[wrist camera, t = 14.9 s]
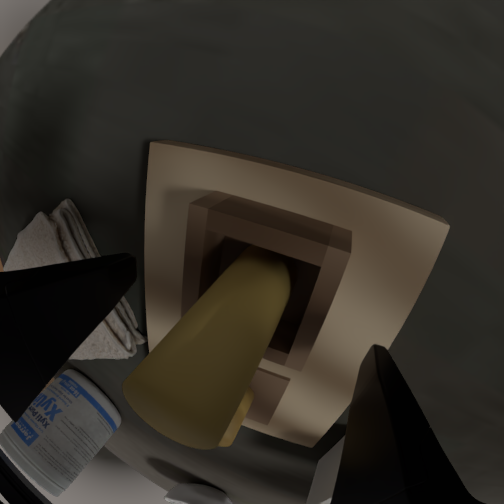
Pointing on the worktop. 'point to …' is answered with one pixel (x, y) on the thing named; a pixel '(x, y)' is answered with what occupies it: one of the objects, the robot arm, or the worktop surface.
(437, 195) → the worktop surface
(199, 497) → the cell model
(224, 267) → the board
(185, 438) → the peg
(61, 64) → the worktop surface
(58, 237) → the washcloth
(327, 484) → the grey rounded cube
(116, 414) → the supplement tub
